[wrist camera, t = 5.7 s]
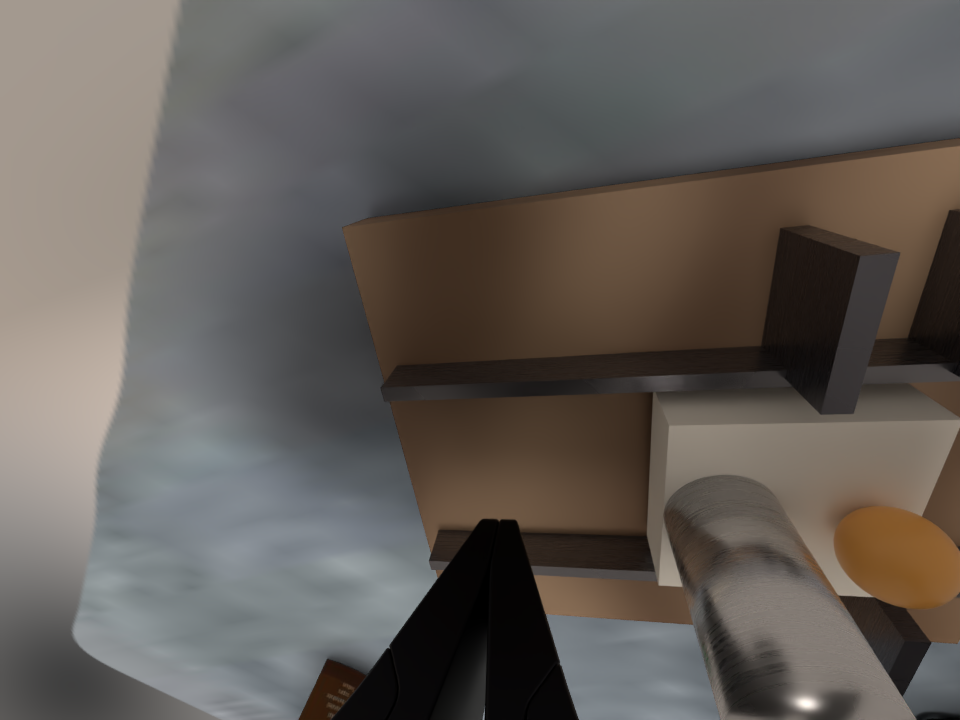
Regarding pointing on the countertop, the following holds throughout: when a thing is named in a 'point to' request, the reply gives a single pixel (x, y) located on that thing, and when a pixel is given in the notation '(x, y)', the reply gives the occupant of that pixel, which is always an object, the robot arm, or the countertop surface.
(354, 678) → the food container
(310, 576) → the countertop surface
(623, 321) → the stand
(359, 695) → the robot arm
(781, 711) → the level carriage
